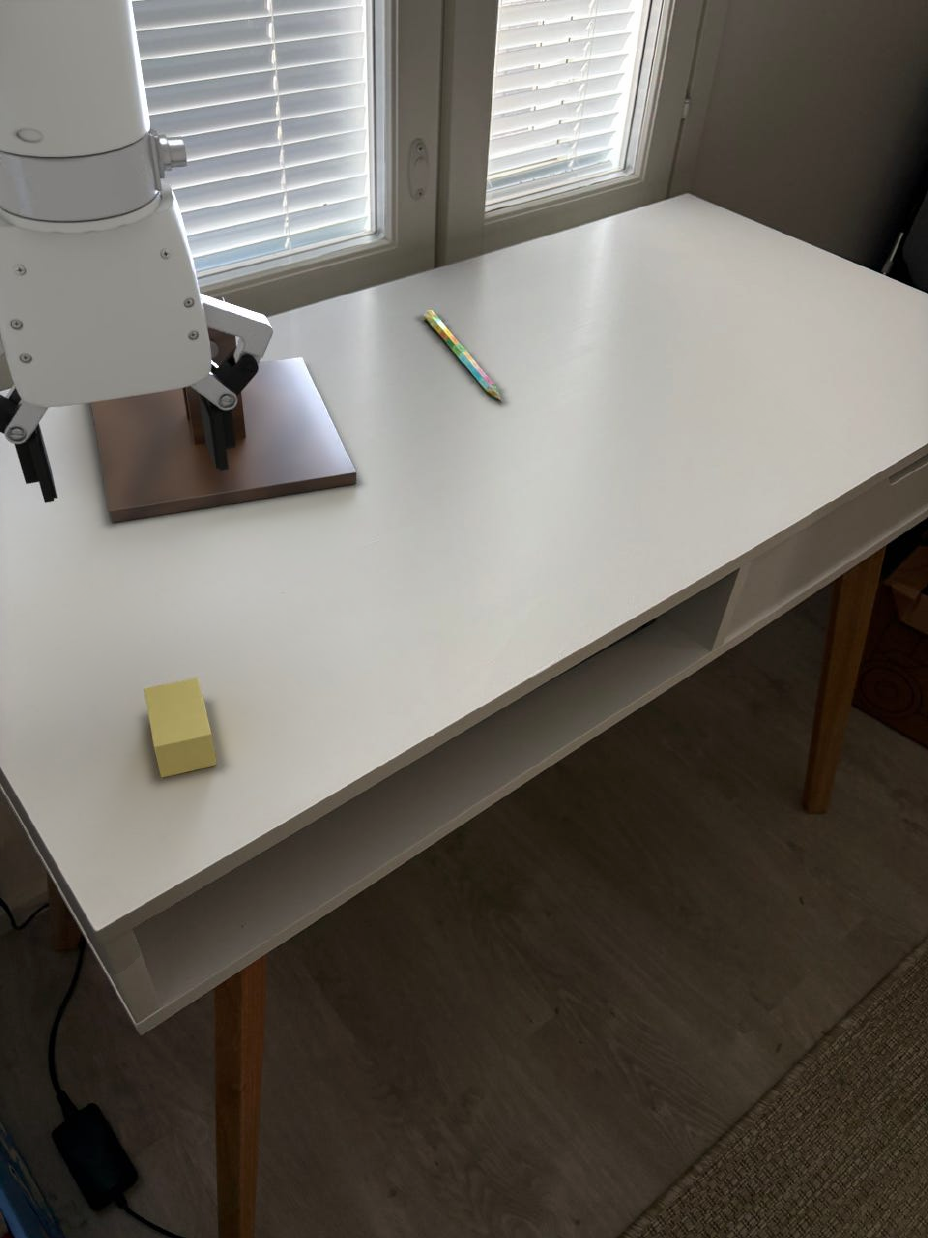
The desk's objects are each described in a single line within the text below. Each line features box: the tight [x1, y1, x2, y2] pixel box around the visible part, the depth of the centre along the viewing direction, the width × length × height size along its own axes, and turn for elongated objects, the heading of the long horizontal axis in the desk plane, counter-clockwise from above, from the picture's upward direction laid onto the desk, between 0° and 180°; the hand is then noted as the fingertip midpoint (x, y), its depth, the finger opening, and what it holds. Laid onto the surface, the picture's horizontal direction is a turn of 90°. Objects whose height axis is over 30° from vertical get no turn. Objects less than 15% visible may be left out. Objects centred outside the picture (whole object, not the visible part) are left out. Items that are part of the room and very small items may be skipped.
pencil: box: [423, 309, 502, 401], centre depth 102 cm, size 1×1×18 cm
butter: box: [143, 676, 218, 778], centre depth 63 cm, size 5×3×3 cm
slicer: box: [90, 296, 357, 524], centre depth 86 cm, size 20×20×12 cm
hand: (135, 472), depth 59 cm, fingers open, 9 cm apart
